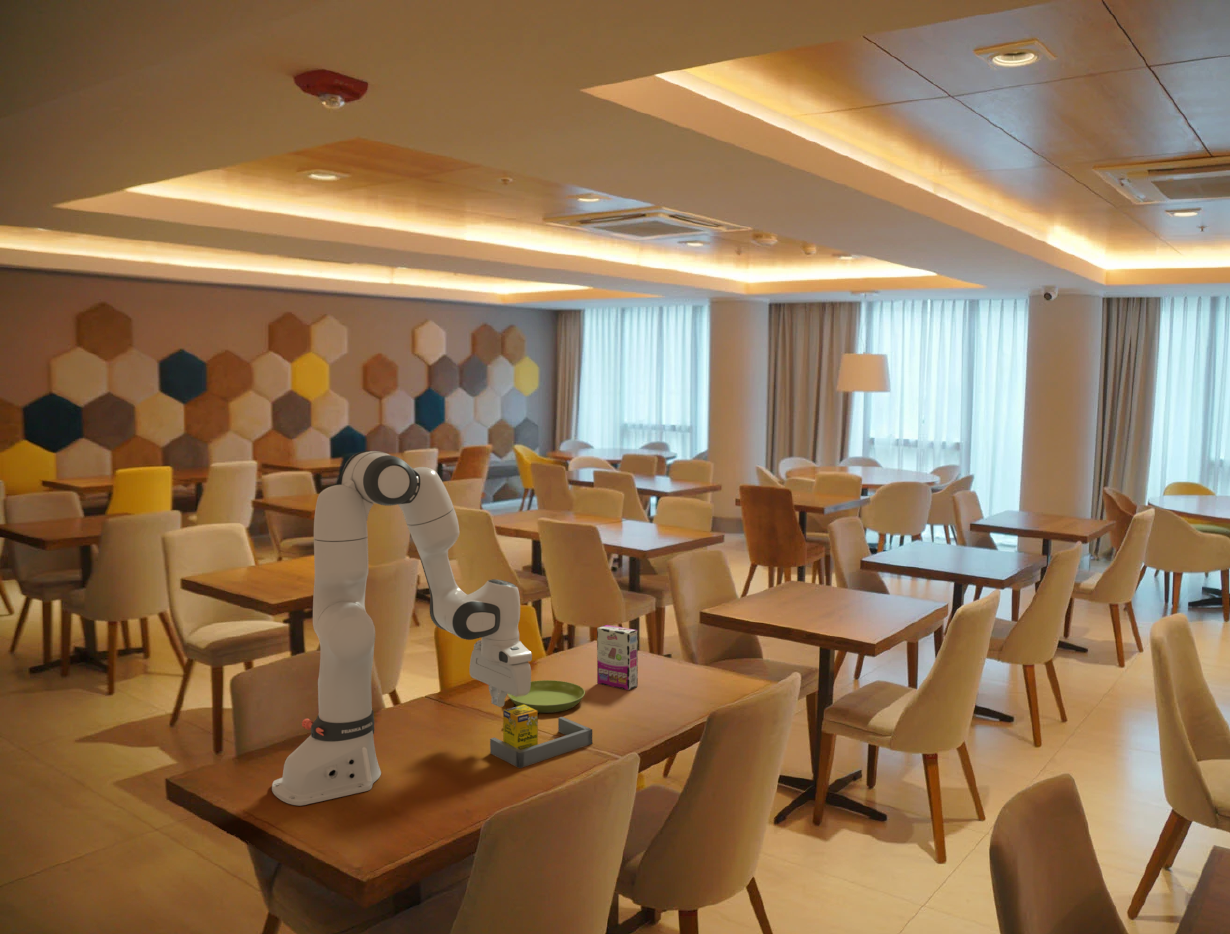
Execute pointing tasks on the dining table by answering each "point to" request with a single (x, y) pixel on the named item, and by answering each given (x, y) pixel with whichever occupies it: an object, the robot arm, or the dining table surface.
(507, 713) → the supplement box
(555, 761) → the dining table surface
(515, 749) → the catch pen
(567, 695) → the saucer
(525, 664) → the robot arm
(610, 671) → the candy bar box
